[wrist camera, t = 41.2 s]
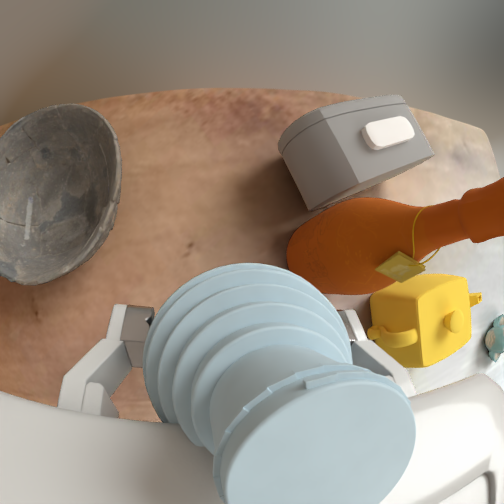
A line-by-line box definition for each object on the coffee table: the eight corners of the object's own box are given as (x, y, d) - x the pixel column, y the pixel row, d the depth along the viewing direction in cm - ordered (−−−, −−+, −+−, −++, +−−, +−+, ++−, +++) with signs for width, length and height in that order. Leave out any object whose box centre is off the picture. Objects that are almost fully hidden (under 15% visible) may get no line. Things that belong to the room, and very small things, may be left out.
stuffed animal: (518, 361, 42) (505, 367, 37) (494, 359, 48) (477, 364, 44) (524, 315, 43) (513, 313, 39) (500, 314, 50) (485, 312, 46)
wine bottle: (268, 242, 38) (455, 138, 9) (326, 209, 41) (508, 105, 11) (305, 307, 38) (522, 333, 9) (359, 269, 41) (559, 239, 11)
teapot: (440, 264, 44) (492, 257, 33) (448, 331, 43) (498, 336, 32) (351, 292, 40) (404, 292, 29) (362, 372, 39) (413, 394, 28)
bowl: (105, 114, 36) (88, 73, 26) (165, 233, 36) (157, 214, 26) (-4, 189, 31) (-40, 167, 21) (40, 314, 31) (0, 320, 21)
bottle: (263, 351, 22) (460, 503, 3) (181, 365, 21) (166, 601, 2) (250, 271, 23) (475, 208, 4) (167, 283, 22) (17, 264, 2)
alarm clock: (370, 127, 44) (417, 87, 31) (396, 176, 44) (451, 146, 31) (265, 157, 40) (298, 104, 27) (295, 219, 39) (343, 188, 26)
